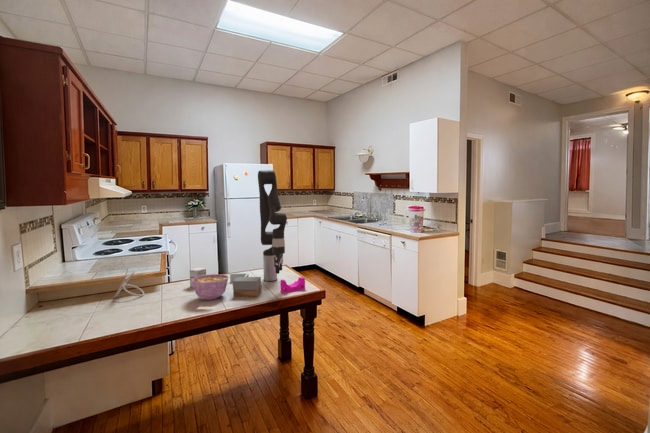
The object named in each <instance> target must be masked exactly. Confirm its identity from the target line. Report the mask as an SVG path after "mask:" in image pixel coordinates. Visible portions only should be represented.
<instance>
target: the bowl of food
mask: <svg viewBox="0 0 650 433" xmlns="http://www.w3.org/2000/svg"><path fill="white" fill-rule="evenodd" d="M228 280H229V275H227V274H221V273H220V274H219V273H217V274H216V273H213V274H212V273H211V274H206V275H203V276H199V277H195V278H193V279H192V283H193V287H194V288H193V287H192V288H193V290H194V292H195V294H196V296H197V297H199V298H200V299H202V300H205V301H212V300H216V299H218V298H219V297H221V296H222V295H224V293H226V289H227V285H228Z"/></svg>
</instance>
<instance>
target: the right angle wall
mask: <svg viewBox="0 0 650 433" xmlns="http://www.w3.org/2000/svg"><path fill="white" fill-rule="evenodd" d="M238 277H250V276H249V273H248V272H246V273H243V272H242V273H238V272H237V273H229V279H230V280H229V282H230V283H232V284H231V285H232V287H233V281H234V280H235V279H236V278H238Z"/></svg>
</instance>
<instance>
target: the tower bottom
mask: <svg viewBox="0 0 650 433" xmlns="http://www.w3.org/2000/svg"><path fill="white" fill-rule="evenodd" d="M232 290H233V289H232ZM232 293H233V295H232V296H233V298H258V297H260V295H261V293H262V285H261V286H260V287H259V288H258V289H257V290H233V292H232Z"/></svg>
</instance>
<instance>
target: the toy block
mask: <svg viewBox="0 0 650 433" xmlns="http://www.w3.org/2000/svg"><path fill="white" fill-rule="evenodd" d="M279 281H280V292H281V293H282V294H285V293H286V294H287V293H291V292H296V291H297V292H298V291H301V290H306V277H303V276H299V277H298V279H297V280H295V281H294V282H293V283H291V284H288V283H287V280H285V279H279Z"/></svg>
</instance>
